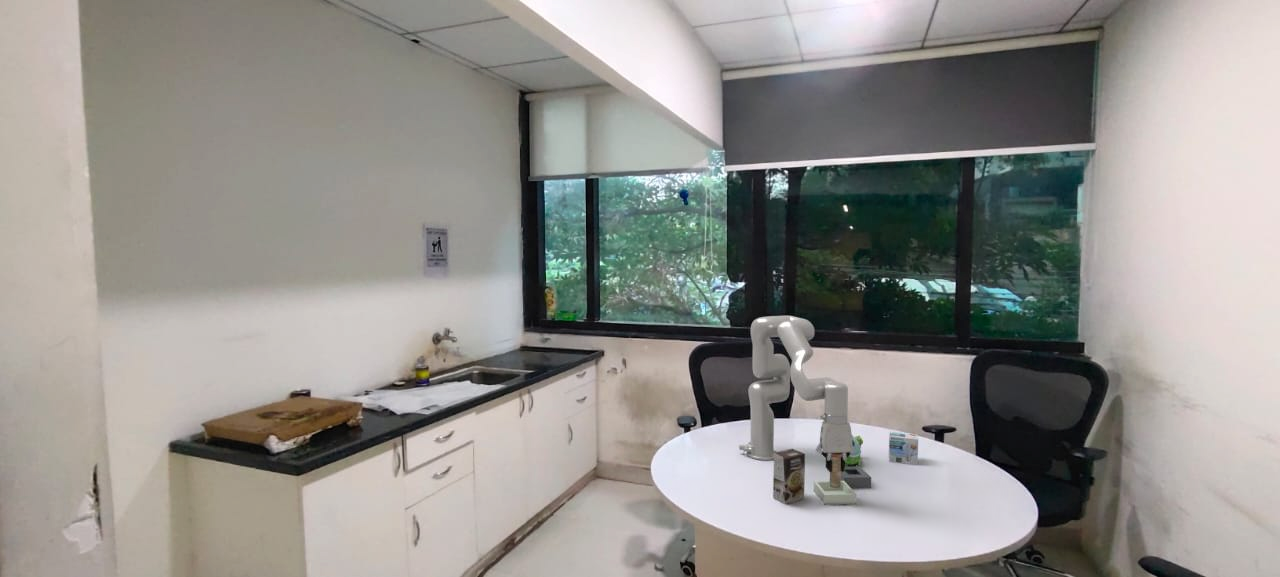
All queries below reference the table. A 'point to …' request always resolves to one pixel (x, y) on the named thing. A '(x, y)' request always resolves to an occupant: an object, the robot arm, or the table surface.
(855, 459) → the turtle holder
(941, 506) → the table surface
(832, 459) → the pin
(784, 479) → the coffee box
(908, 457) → the light bulb box
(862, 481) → the hitch block
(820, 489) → the tray
